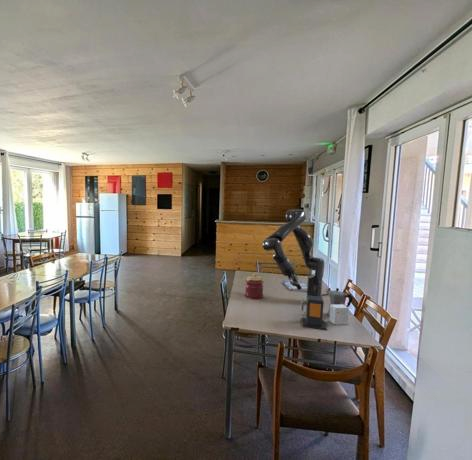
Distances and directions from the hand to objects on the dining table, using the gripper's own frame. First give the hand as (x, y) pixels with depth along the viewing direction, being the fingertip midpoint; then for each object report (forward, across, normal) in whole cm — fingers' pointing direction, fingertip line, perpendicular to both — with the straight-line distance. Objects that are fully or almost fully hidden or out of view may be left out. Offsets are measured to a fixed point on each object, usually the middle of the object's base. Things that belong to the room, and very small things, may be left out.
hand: (300, 288), depth 177 cm
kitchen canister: (+10, +26, +41) cm, 50 cm away
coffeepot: (+32, +8, -8) cm, 34 cm away
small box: (+28, -3, -9) cm, 30 cm away
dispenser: (+18, -11, +1) cm, 21 cm away
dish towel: (+37, +64, +21) cm, 77 cm away
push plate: (+8, -8, +3) cm, 12 cm away
